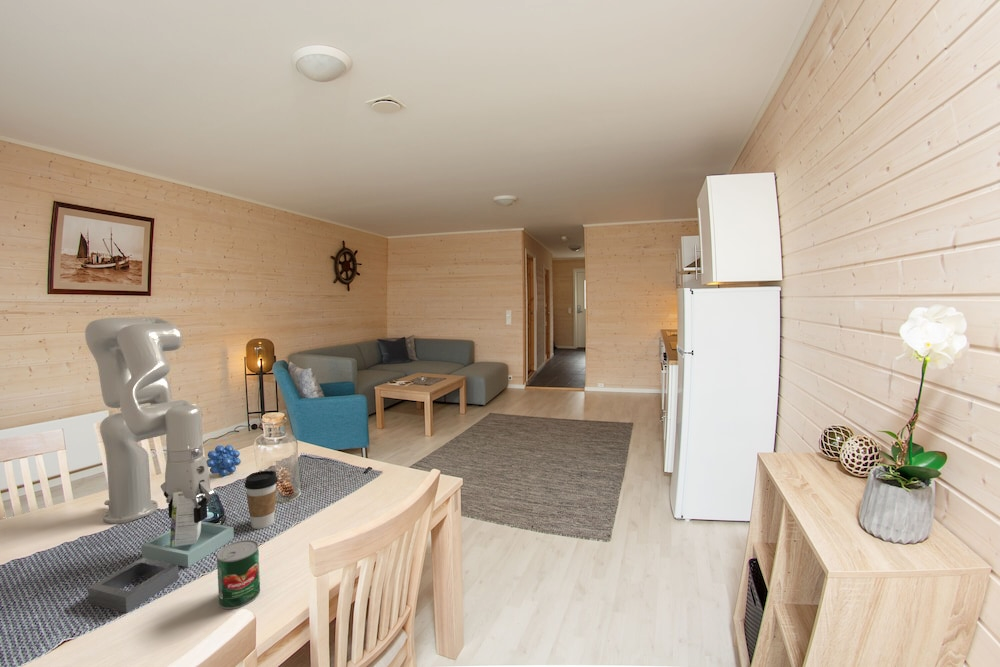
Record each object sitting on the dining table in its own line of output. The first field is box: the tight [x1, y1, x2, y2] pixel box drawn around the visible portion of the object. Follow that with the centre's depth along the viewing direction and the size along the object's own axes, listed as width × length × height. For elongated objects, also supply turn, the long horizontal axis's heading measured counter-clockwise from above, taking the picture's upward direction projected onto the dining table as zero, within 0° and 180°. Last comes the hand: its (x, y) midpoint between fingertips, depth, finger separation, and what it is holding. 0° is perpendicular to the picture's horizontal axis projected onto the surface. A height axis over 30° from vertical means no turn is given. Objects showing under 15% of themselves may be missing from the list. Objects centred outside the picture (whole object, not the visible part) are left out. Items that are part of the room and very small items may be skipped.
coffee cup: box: [244, 470, 278, 530], centre depth 122 cm, size 8×8×15 cm
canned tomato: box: [216, 539, 261, 610], centre depth 92 cm, size 8×8×11 cm
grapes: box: [206, 444, 242, 477], centre depth 154 cm, size 12×7×12 cm, turn 146°
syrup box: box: [170, 489, 203, 547], centre depth 110 cm, size 6×6×14 cm
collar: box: [87, 557, 179, 614], centre depth 94 cm, size 11×11×4 cm
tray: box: [141, 520, 235, 568], centre depth 111 cm, size 15×13×3 cm
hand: (188, 517), depth 110 cm, fingers closed on syrup box, 7 cm apart
